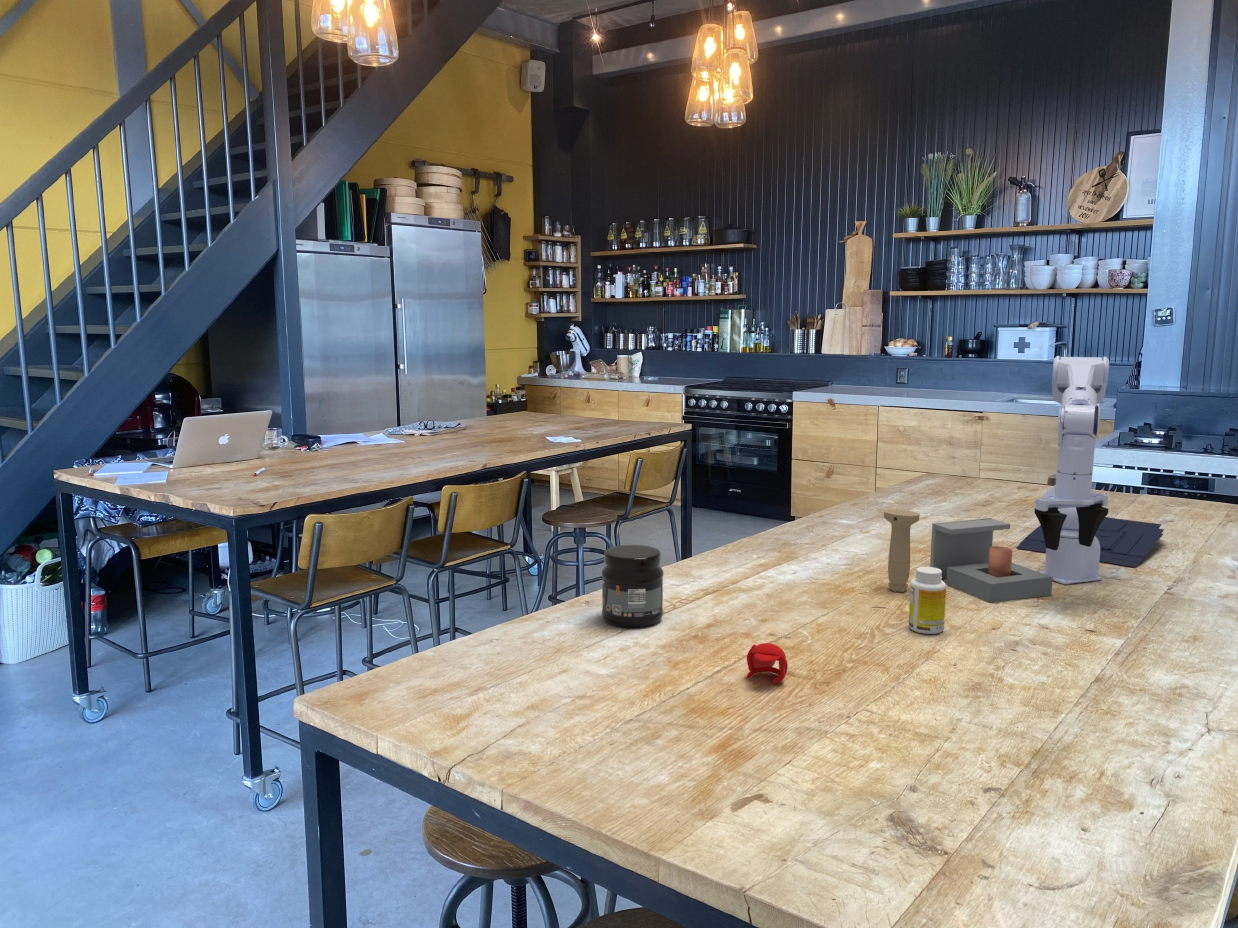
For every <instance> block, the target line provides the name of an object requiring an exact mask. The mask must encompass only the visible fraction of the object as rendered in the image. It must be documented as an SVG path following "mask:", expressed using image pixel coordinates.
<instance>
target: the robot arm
mask: <svg viewBox="0 0 1238 928" xmlns="http://www.w3.org/2000/svg"><path fill="white" fill-rule="evenodd" d="M1052 364H1053V365H1052V375H1051V376H1052V378H1051V379H1052V380H1051V386H1052V390H1051V395H1052V400H1053V401H1054V402H1056V403H1058V404H1059V405H1061V407H1060V406H1059V408H1058V418H1057V429H1056V432H1057V439H1058V440H1057V442H1058V443H1057V447H1058V449H1057V450H1058V451H1057V461H1056V475H1055V485H1053V486H1051V487H1049V488H1047V489H1046V490H1045V492H1044V494H1043V497H1038V498H1035V505H1034V506H1035V507H1034V515H1035V516H1036V518H1037V520H1038V522H1039V526H1040V525H1041V528H1042V531H1043V535H1044V540H1045V545H1046V552H1045V561H1044V569H1043V570H1036V571H1037V572H1040V573H1043V574H1046V575H1049V576H1052V577H1053V581H1054V582H1056V583H1059V584H1062V585H1069V584H1077V583H1085V582H1086V583H1087V582H1095V581H1101V580H1102V577H1101V576H1099V569H1100V561H1099V559H1100V544H1099V541H1098V539H1097V538H1096V537H1095V534H1096V532H1097V529H1098V527H1099V526H1100V524H1101V522H1102V521H1103V519H1104V518H1105V517H1108V516H1107V515H1109V508H1107V507H1106V506H1108V503H1109V495H1108V494H1105V493H1101V492H1100V493H1099V492H1098V493H1097V492H1095V491H1094V490H1092V486H1093V485H1092V483H1093V472H1094V461H1095V459H1094V458H1095V449H1096V439H1097V438H1098V436H1099V433H1100V427H1101V408H1100V403H1102V402H1104V398H1105V397H1106V391H1107V390H1106V389H1107V387H1108V382H1109V372H1110V371H1109V369H1110V360H1109V358H1108V357H1107V356H1102V357H1097V356H1095V357H1094V356H1093V357H1089V356H1087V357H1086V356H1060V355H1056V356H1055V357H1054V359H1053V363H1052ZM1093 435H1094V436H1095V437H1094V436H1093ZM1053 581H1052V582H1053Z"/></svg>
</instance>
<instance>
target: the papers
mask: <svg viewBox="0 0 1238 928" xmlns="http://www.w3.org/2000/svg"><path fill="white" fill-rule="evenodd" d="M1161 527H1162V524H1161V523H1155V522H1154V523H1153V522H1146V521H1139V520H1131V519H1125V518H1115V517H1109V516H1106V517H1105V518H1104V519H1103V521H1102V522H1101V524H1100V526H1099V527H1098V529H1097V532H1096V534H1095V537H1096V538H1097V539H1098V541H1099V544H1100V559H1099V562H1101V563H1102V562H1103V563H1107V564H1114V565H1118V566H1119V565H1120V566H1124V567H1125V566H1126V567H1131V568H1136V567H1138V565H1139V564H1140V563H1142V561H1143V560H1144V559H1145V557H1146V556H1147V555H1148V554H1149V552H1150V551H1151V550H1152V549H1153V547H1154V546H1155V545H1156V544H1157V542H1158V541H1160V539H1161V538H1162V536H1163V535H1164V531H1165V528H1161ZM1015 548H1016V549H1019V550H1020V549H1021V550H1027V551H1035V552H1041V553H1046V545H1045V540H1044V535H1043V531H1042V528H1041V525H1040V524H1039V526H1038V527H1036V528H1035V529H1034V530H1033V531H1031V532H1030V533H1029V534H1027V536H1026V537H1024V538H1023V540H1020V542H1019V544H1018V545H1017V546H1016V547H1015Z"/></svg>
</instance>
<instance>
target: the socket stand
mask: <svg viewBox="0 0 1238 928" xmlns="http://www.w3.org/2000/svg"><path fill="white" fill-rule="evenodd" d="M931 525H932V526H931V538H930V539H931V543H930V556H929V557H930V561H929V567H934V568H938V569H940V570H941V571H942V579H946V580H945V584H946V586H949V587H951V588H953V589H956V590H958V591H961V592H963V593H965V594H968V595H970V596H972V597H975V598H978V599H979V600H982V601H985V602H987V603H989V604H990V603H991V604H992V603H1000V602H1006V601H1007V602H1008V601H1015V600H1023V599H1032V598H1037V597H1046V596H1047V597H1048V596H1052V594H1053V593H1052V591H1053V577H1052V576H1049V575H1046V574H1043V573H1040V572H1037V571H1038V570H1034V569H1032V568H1029V567H1025V566H1023V565H1020V564H1017V563H1014V562H1012V564H1011V576H1007V577H998V578H997V577H995V576H992V575H989V574H988V562H989V548H990V547H993V539H994V531H1003V530H1010V529H1011V523H1009V522H1006V521H1002V520H998V519H995V518H991V517H989V518H988V517H987V518H976V519H967V520H965V519H964V520H955V521H944V522H935V523H934V522H932V524H931Z"/></svg>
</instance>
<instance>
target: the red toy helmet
mask: <svg viewBox="0 0 1238 928" xmlns="http://www.w3.org/2000/svg"><path fill="white" fill-rule="evenodd" d="M776 661H777V662H778V668H777V667H774V665H775V663H776ZM746 663H747V668H748V670H749V672H748V673H747V674H746V676H747V677H746V678H747V679H751V678H752V677H753V676H754V675H756V674H758V673H772V674H775V675H777V677H775V678H774V679H773V680H772V684H773V685H778V684H780V683H781V682H782V681H783V680H784V679H785V678H786V675H787V672H788V668H789V667H788V666H789V665H788V661H787V656H786V653H785V652H784V650H783V648H781V647H780V646H778V645H777V644H774V643H769V642H763V643H762V642H761V643H760V644H752V646H751V647H750V649H749V650H748V652H747V654H746Z"/></svg>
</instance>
